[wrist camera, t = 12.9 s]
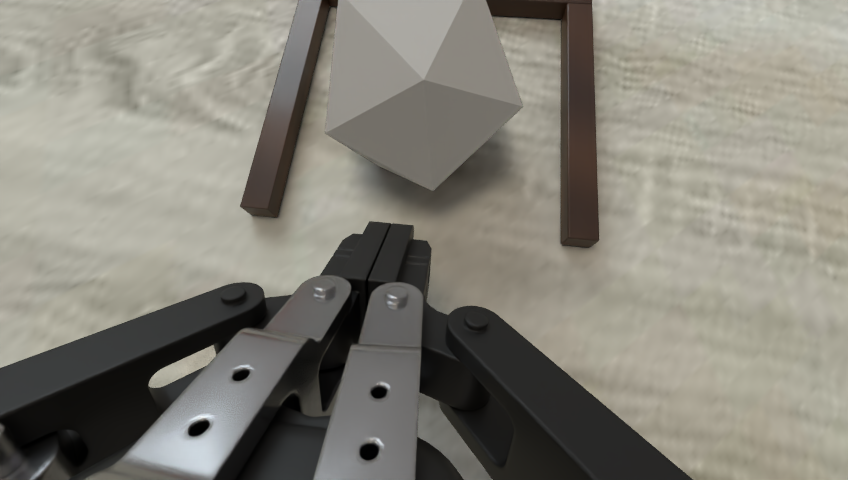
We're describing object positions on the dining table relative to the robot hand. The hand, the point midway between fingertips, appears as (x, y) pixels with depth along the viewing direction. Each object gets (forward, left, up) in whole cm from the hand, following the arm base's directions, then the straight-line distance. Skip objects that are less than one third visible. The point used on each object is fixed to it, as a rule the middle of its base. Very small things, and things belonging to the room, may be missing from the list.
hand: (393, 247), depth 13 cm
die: (+8, +2, -6) cm, 11 cm away
